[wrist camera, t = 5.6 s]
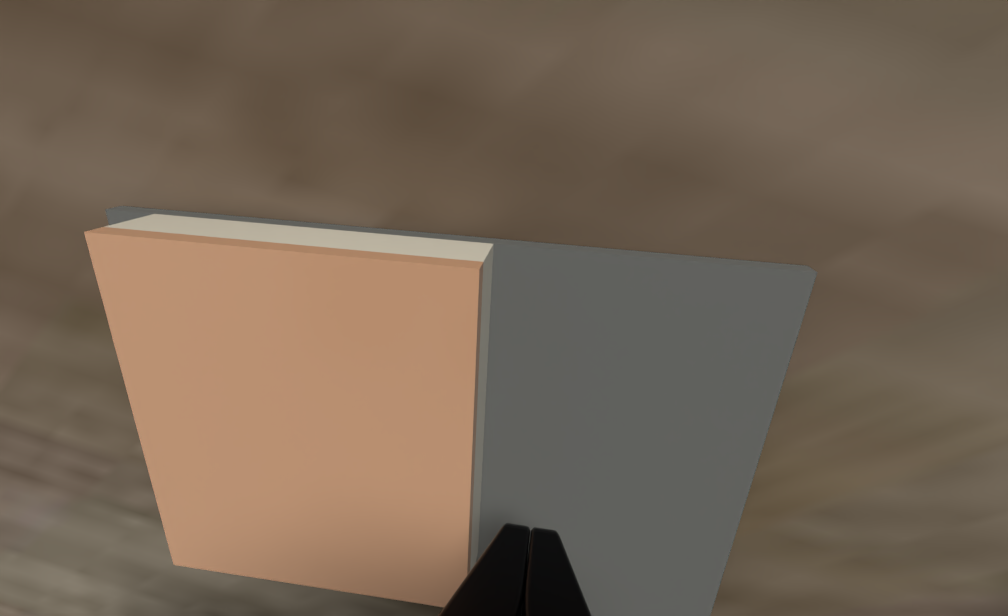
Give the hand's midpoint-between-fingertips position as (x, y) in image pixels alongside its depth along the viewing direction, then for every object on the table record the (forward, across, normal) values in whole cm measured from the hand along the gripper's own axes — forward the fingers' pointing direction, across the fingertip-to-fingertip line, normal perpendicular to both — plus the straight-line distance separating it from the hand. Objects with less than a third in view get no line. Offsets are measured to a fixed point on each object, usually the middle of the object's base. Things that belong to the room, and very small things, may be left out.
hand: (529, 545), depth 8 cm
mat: (+4, +2, +1) cm, 5 cm away
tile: (+2, +1, 0) cm, 3 cm away
